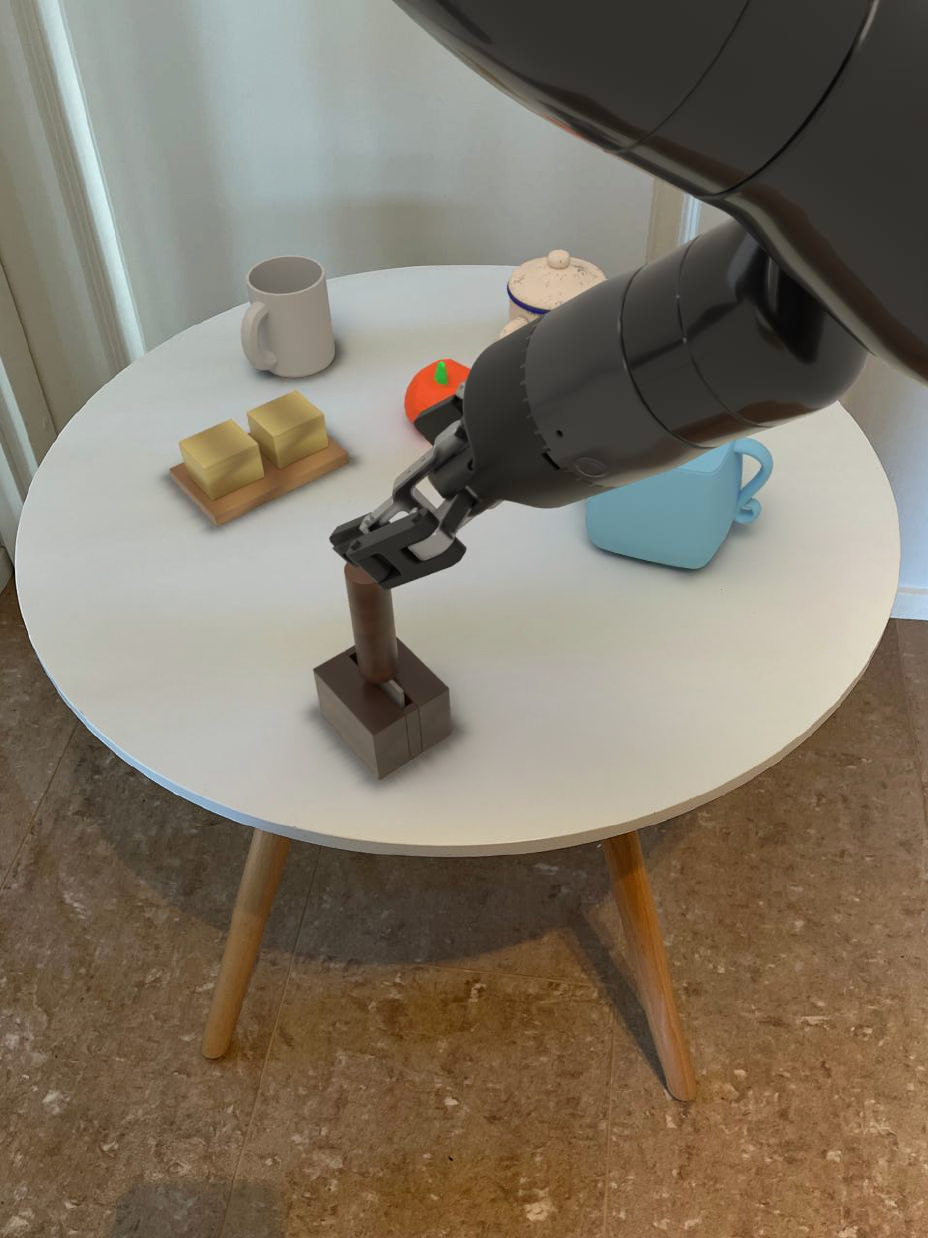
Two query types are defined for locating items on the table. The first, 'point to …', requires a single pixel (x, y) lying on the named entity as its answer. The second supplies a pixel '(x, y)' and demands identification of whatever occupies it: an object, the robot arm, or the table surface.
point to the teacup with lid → (546, 286)
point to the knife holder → (384, 710)
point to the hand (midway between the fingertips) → (387, 488)
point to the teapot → (680, 507)
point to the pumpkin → (433, 385)
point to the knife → (374, 632)
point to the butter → (256, 458)
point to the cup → (288, 317)
